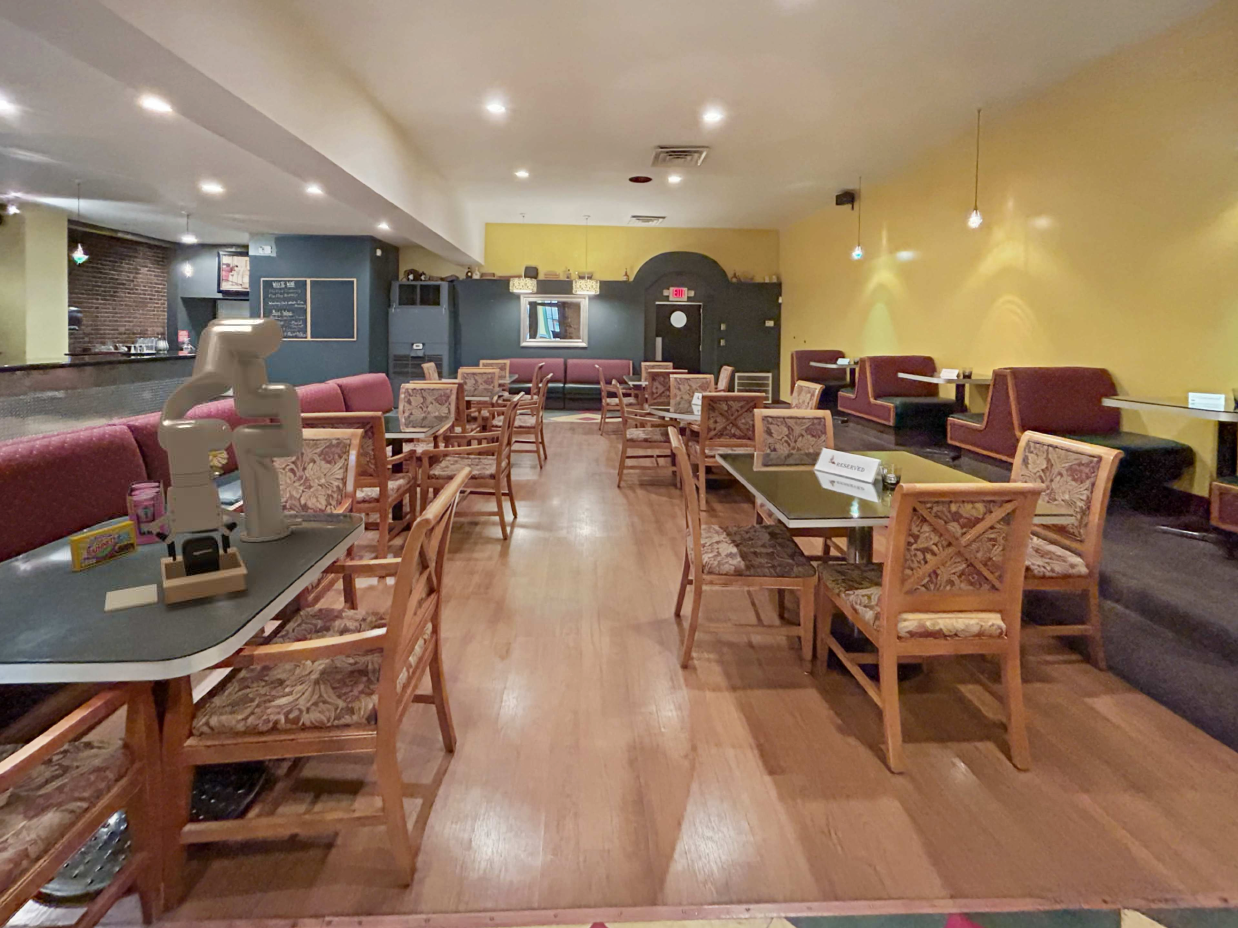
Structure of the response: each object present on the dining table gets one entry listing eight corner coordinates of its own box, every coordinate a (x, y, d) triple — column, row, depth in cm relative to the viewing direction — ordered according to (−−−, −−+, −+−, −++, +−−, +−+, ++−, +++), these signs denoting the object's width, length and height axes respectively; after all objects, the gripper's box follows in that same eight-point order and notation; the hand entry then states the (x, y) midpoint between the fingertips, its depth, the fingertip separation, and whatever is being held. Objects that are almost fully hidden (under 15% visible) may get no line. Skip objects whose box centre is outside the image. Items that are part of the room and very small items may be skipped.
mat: (156, 585, 155) (156, 583, 155) (157, 602, 145) (157, 600, 145) (107, 594, 150) (106, 592, 150) (104, 612, 140) (104, 610, 140)
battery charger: (189, 592, 150) (182, 542, 148) (185, 588, 153) (178, 538, 151) (225, 584, 155) (219, 536, 153) (220, 580, 158) (214, 532, 155)
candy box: (79, 572, 165) (74, 538, 163) (72, 571, 165) (66, 538, 164) (138, 551, 180) (134, 520, 179) (131, 550, 181) (127, 520, 179)
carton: (238, 566, 167) (235, 546, 166) (249, 594, 149) (247, 572, 148) (163, 579, 159) (160, 558, 158) (166, 610, 141) (163, 587, 140)
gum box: (166, 542, 188) (160, 494, 185) (131, 547, 184) (124, 498, 181) (168, 522, 208) (162, 478, 205) (136, 526, 204) (130, 482, 201)
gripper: (234, 473, 157) (242, 545, 160) (143, 481, 147) (153, 558, 150) (238, 477, 151) (246, 553, 154) (143, 487, 141) (153, 567, 144)
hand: (200, 555), depth 152 cm, fingers open, 9 cm apart
